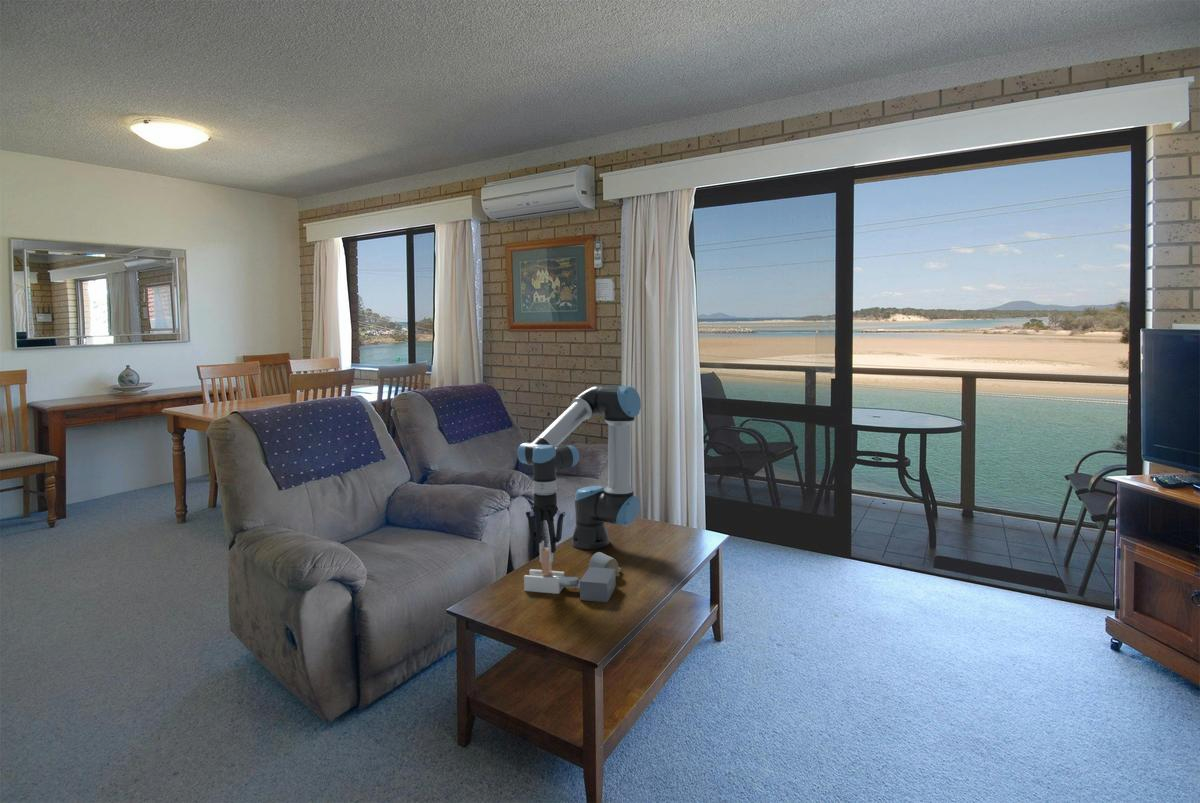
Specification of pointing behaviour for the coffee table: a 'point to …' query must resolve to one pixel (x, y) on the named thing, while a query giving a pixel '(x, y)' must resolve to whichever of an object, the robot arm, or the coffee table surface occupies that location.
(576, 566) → the coffee table surface
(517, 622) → the coffee table surface
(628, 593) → the coffee table surface
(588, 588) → the socket block
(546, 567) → the silver peg with handle
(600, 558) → the ceramic mug
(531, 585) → the white channel cradle
